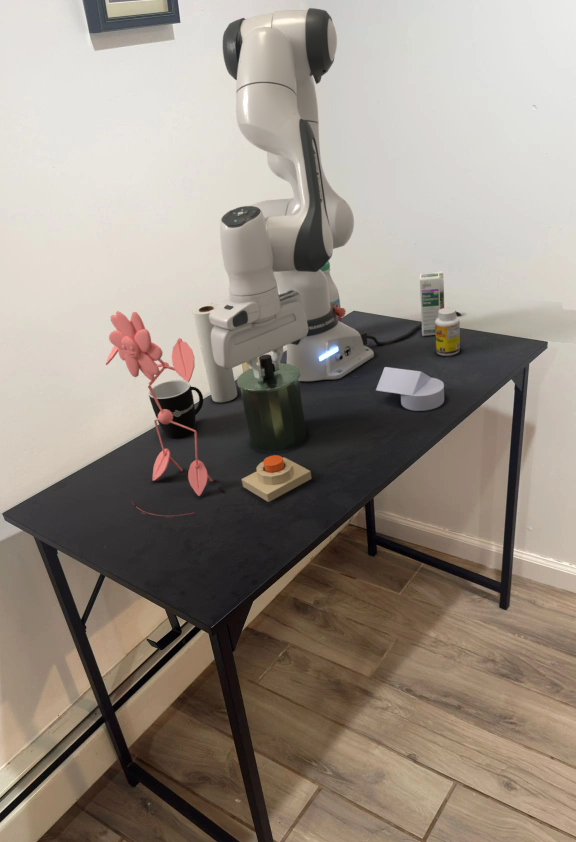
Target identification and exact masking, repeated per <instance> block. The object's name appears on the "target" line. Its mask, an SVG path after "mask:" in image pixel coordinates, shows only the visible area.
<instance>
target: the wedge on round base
mask: <svg viewBox="0 0 576 842" xmlns="http://www.w3.org/2000/svg"><path fill="white" fill-rule="evenodd" d="M375 391H377V392H385V393H391V394H392V393H393V394H398V395H400V404H401V406H402V407H403V408H404V409H405V410H409V411H415V412H424V411H430V410H434V409H437V408H439V407H441V406H442V405H443V404H444V403H445V383H444V382H443V381H442V380H441V379H438V378H436V377H431V376H430V375H428V374H426V373H424V372H423V371H421V370H420V371H419V370H412V369H405V368H397V367H388V366H384V368H383V371H382V374H381V376H380V377H379V381H378V383H377V385H376V388H375Z"/></svg>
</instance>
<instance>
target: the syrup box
mask: <svg viewBox="0 0 576 842" xmlns="http://www.w3.org/2000/svg"><path fill="white" fill-rule="evenodd" d="M444 281H445V280H444V270H440V271H432V272H421V273H420V274H419V292H420V293H419V294H420V314H421V316H420V317H421V324H422V327H421V336H422V337H426V336H436V331H435V321H436V319H437V318H438V311H439V310H440V309H443V308H445V285H444Z"/></svg>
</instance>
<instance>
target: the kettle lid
mask: <svg viewBox="0 0 576 842" xmlns="http://www.w3.org/2000/svg"><path fill="white" fill-rule="evenodd" d="M272 357H273V356H272V355H271V354H269V353H266V354H264V355H261V356H259V357H258V362H259V365H258V366H259V367H261V368H264V370H265V372H264V373H265V376H264V377H262V378H260V379H257V378H255V376H254V372H253V369H252V368H251V367H250V368H249V369H247V370H245V371H244V372H242V373H241V374H240V375H239V376H238V377H237V380H236V385H237V387H238V388H239V389H240V388H241V389H242V390H245V391H248V392H270V391H275V390H279V389H282V388H285V387H288V386H290V385H292V384H293V383H295V382H296V381H297V380H298V379H299V377H300V370H299V369H298V368H297V367H296V366H294V365H291V364H286V363H285V362H283V363H282V362H280V366H281V369H280V370H278V371H276V372H274V369H273V363H272ZM241 389H240V390H241Z"/></svg>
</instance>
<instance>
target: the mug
mask: <svg viewBox="0 0 576 842" xmlns="http://www.w3.org/2000/svg"><path fill="white" fill-rule="evenodd" d="M152 389H153V392H154V394H155V396H156V398H157V400H158V402H159V404H160V406H161V408H162V410H164V409H167V410H169V411H171V413H172V414H173V420H172V421H173V422H176V423H178V424H181V425H183V426H186V427H189V428H191V429H194V430H195V428H196V416H197V415H198V414H199V412H200V411H201V409H202V408H203V406H204V405H203V404H204V396H203V393H202V391H201V390H200V389H199V388H198V387H196V386H191V384H190V382H187V381H186V380H184V379H173V380H168V381H164V382H161V383H158V384H156V385H155V386H153V387H152ZM193 391H194V392H196V393H197V396H198V404H197V407H196V408H195V401H194V395H193ZM148 397H149V402H150V404H151V407H152V409H153V412H154V415H155V417H156V418H155V419H158V414H159V412H160V409H159V407H158V405H157V403H156V401H155V399H154V398H153V396H152V394H151V392H150V390H149V392H148ZM157 424H158V425H159V427H160V429H161V430H162V432H163V434H164V435H165V436H166V437H168V438H171V439H180V438H184V437H187V436H189V435H190V434H192V433H193V432H194V431H191V430H188V429H186V428H183V427H181V426H178V425H175V424H173V423H169V424H162V423H161V422H160V421H159V420H158V421H157Z"/></svg>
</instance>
